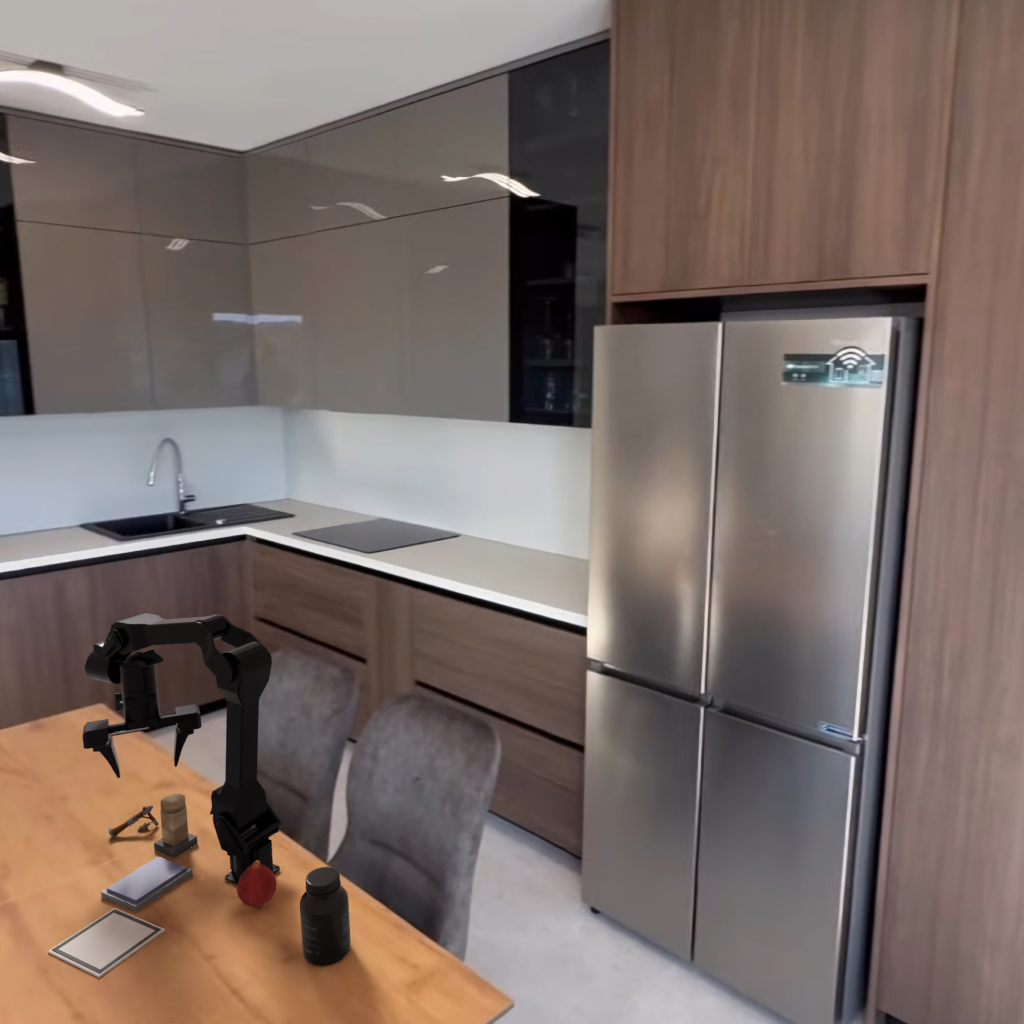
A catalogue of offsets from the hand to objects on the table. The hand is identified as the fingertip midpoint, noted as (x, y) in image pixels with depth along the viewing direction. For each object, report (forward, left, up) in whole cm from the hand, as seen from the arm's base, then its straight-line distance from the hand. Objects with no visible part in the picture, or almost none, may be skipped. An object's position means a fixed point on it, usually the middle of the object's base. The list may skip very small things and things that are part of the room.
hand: (147, 771), depth 146 cm
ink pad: (-11, +10, -13) cm, 20 cm away
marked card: (-17, +22, -13) cm, 31 cm away
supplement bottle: (-47, +9, -13) cm, 50 cm away
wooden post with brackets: (+5, 0, -13) cm, 14 cm away
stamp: (-6, 0, -13) cm, 14 cm away
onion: (-31, +6, -13) cm, 34 cm away
